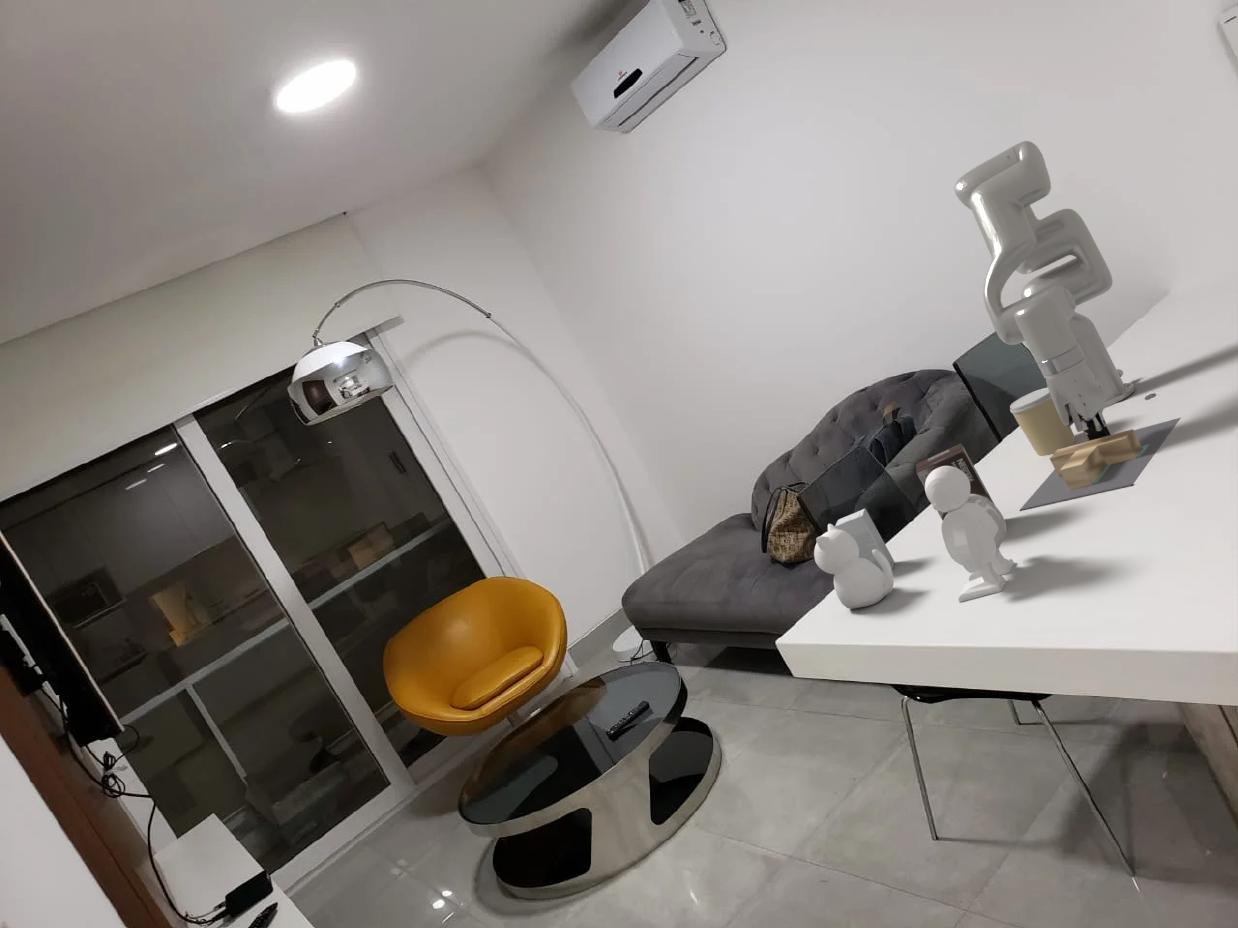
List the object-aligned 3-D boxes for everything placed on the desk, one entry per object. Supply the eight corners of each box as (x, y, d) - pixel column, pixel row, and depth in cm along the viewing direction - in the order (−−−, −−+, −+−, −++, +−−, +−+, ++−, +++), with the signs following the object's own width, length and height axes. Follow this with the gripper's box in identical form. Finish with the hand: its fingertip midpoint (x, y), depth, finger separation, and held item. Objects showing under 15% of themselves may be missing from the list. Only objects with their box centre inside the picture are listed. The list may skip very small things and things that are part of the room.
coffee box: (1003, 518, 162) (962, 441, 160) (1006, 529, 156) (965, 449, 154) (954, 538, 165) (914, 463, 164) (956, 550, 159) (915, 471, 158)
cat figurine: (850, 596, 165) (813, 526, 164) (911, 579, 157) (872, 506, 156) (834, 620, 158) (795, 547, 157) (897, 603, 150) (856, 526, 149)
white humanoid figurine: (977, 567, 147) (922, 461, 145) (1031, 553, 141) (973, 443, 139) (956, 608, 136) (896, 494, 135) (1012, 594, 130) (950, 476, 129)
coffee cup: (1069, 435, 187) (1043, 385, 187) (1088, 439, 178) (1061, 387, 177) (1027, 456, 189) (1002, 406, 188) (1044, 461, 180) (1017, 409, 179)
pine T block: (1066, 468, 168) (1057, 449, 168) (1142, 448, 157) (1132, 429, 157) (1043, 496, 161) (1033, 476, 160) (1121, 477, 150) (1110, 457, 149)
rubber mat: (1075, 447, 178) (1074, 446, 178) (1181, 419, 162) (1180, 417, 162) (1020, 510, 161) (1019, 509, 161) (1133, 485, 145) (1132, 484, 145)
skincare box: (895, 561, 170) (866, 507, 169) (892, 570, 166) (863, 514, 165) (866, 572, 173) (837, 519, 172) (863, 581, 169) (833, 526, 168)
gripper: (1056, 354, 170) (1099, 438, 171) (1026, 383, 161) (1072, 471, 162) (1095, 340, 164) (1139, 427, 165) (1066, 369, 155) (1113, 461, 156)
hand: (1105, 448), depth 164 cm, fingers closed
